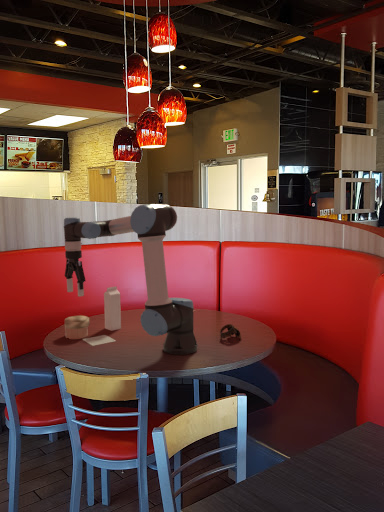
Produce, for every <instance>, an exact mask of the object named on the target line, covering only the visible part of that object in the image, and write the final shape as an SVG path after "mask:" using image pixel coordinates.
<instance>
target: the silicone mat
mask: <svg viewBox="0 0 384 512" xmlns="http://www.w3.org/2000/svg"><path fill="white" fill-rule="evenodd" d="M81 339H82V341H84V342H86V343H87V344H88V345H90V346H92V347H94V346H99V345H103V344H104V345H105V344H108V343H113V342H117V340H115V339H114V338H112V337H110V336H108V335H107V334H102V335H97V336H93V337H92V336H91V337H87V338H86V337H85V338H81Z"/></svg>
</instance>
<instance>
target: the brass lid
mask: <svg viewBox="0 0 384 512" xmlns="http://www.w3.org/2000/svg"><path fill="white" fill-rule="evenodd" d="M65 327H66V328H69V329H80V328H85V327H90V317H88V316H86V315H74V316H73V315H72V316H68V317H66V318H65V319H64V328H65Z"/></svg>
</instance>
